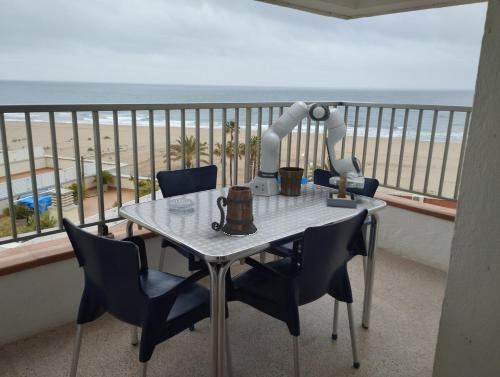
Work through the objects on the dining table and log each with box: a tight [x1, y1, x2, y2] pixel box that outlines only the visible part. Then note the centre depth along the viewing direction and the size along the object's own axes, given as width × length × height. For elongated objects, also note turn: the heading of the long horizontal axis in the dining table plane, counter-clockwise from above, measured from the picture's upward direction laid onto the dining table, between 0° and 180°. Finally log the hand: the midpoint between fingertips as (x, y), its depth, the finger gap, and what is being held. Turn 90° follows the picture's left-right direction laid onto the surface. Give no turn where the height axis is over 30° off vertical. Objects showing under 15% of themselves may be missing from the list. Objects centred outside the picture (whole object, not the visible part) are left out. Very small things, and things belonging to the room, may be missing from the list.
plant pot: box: [278, 166, 305, 197], centre depth 229 cm, size 16×16×16 cm
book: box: [278, 176, 309, 187], centre depth 256 cm, size 17×4×25 cm
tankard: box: [210, 185, 258, 236], centre depth 164 cm, size 24×17×20 cm
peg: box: [337, 174, 347, 198], centre depth 209 cm, size 4×4×16 cm
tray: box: [326, 191, 358, 209], centre depth 211 cm, size 16×16×4 cm
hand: (342, 185), depth 209 cm, fingers open, 8 cm apart
